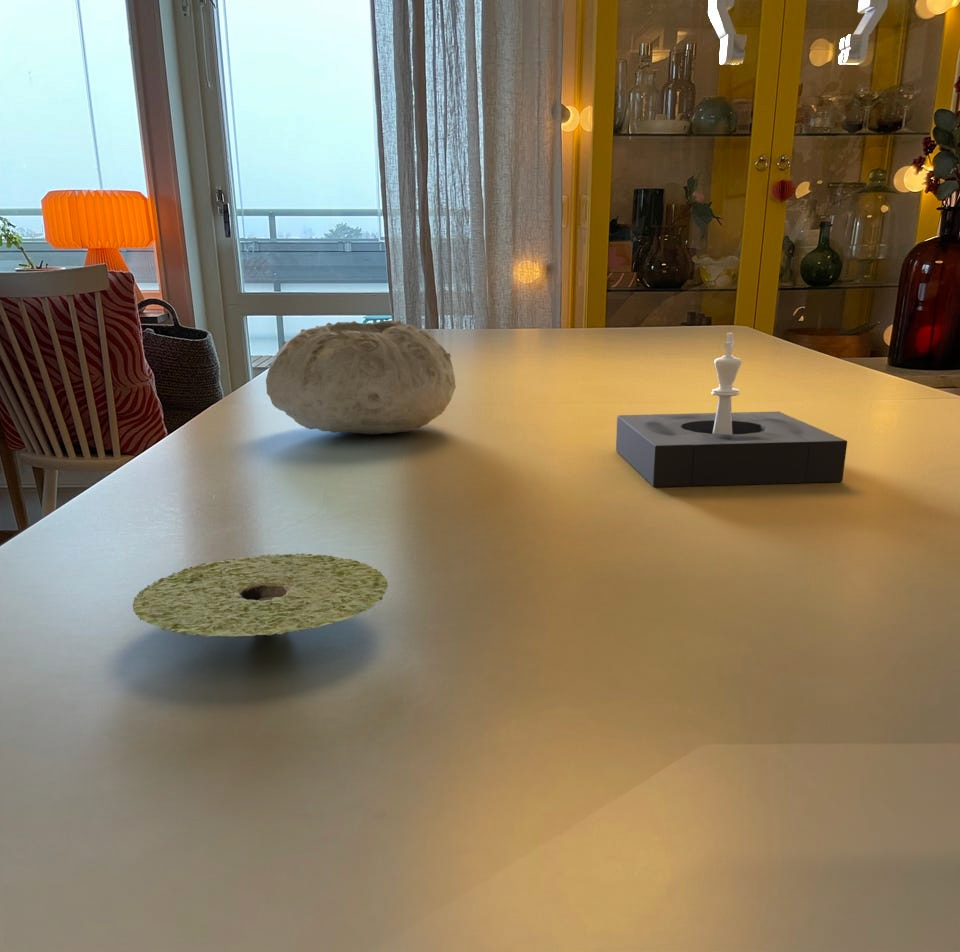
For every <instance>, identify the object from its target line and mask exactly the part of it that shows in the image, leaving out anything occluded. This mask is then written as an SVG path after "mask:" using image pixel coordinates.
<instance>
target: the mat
mask: <svg viewBox="0 0 960 952" xmlns="http://www.w3.org/2000/svg"><path fill="white" fill-rule="evenodd" d="M388 583H389V582H388V579H387V578H386V576H384V575H383V573H382V572H381V571H379V570H378V569H377V568H374V567H372V566H371V565H369V564H366V563H363V562H360V561H358V560H354V559H352V558H343V557H338V556H333V555H327V554H326V555H325V554H319V553H318V554H312V553H309V554H307V553H296V554H295V553H284V554H279V553H278V554H276V553H275V554H270V553H269V554H263V555H257V556H256V555H254V556H246V557H237V558H232V559H231V558H230V559H223V560H215V561H212V562H209V563H205V562H204V563H200V564H197V565H194V566H190V567H189V568H187V567H186V568H183V569H182V570H181V571H178V572H172V574H170V575H168V576H166V577H161V578H159V579H158V580H154V581H153V583H152V584H150V585H149V584H148V585H147V586H146V587H144V588H143V589H142V590H139V592H138V593H137V594H136V596H134V597H133V603H132V610H133V612H134V613H135V615H136V616H137V618H139V620H140V621H141V620H142V621H144V622H145V623H146V624H149V625H150V626H156V627H158V628H159V629H161V630H163V631H165V630H167V631H172V632H173V633H180V634H182V635H183V636H186V635H191V636H202V637H206V638H208V637H216V636H220V637H255V636H257V635H259V636H263V635H266V636H272V635H275V634H277V635H283V634H285V633H290V632H296V631H297V632H302V631H305V630H312V629H318V628H320V627H323V626H327V625H332V624H334V623H337V622H342V621H345V620H347V619H349V618H352V617H356V616H358V615H360V614H362V613H364V612H367V611H368V610H369V609H371V608H373V607H374V606H376V605H377V603H379V602H380V601H382V600H383V597H384V595H385V594H386V592H387V591H386V590H388V587H389V584H388Z"/></svg>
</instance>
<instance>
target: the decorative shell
mask: <svg viewBox="0 0 960 952" xmlns="http://www.w3.org/2000/svg"><path fill="white" fill-rule="evenodd" d="M451 357H452V356H451V353H450V352H447V350H446V349H445V348H444V346H442V345H441V343H439V342H438V340H436V339H435V338H434V336H432V335H430V334H429V333H428V332H426V331H424V330H421V329H419V328H418V327H415V325H414V324H413V323H411V324H408V323H403V322H402V321H401V320H396V321H395V320H380V321H378V322H373V323H372V322H366V323H363V322H362V323H361V322H360V323H359V322H357V321H355V320H353V321H350V322H349V321H337V322H335V323H334V324H333V323H331V322H327V323H326V324H325V325H320V326H319V325H316V326H315V327H310V328H307V329H305V328H302V329H301V330H300V332H299V333H297V334H295V335H294V336H292V337H291V338H289V340H287V341H286V340H284V341H282V343H281V347H280V348H279V349H278V351H277V352H276V354H275V356H274V358H273V360H272V361H271V362H270V363H269V367H268V371H267V375H266V378H265V385H266V386H265V387H266V395H267V396H268V397H269V399H270V401H271V402H270V403H271V404H272V405H273V406H274V408H275V409H278V410H279V411H282V412H284V413H285V415H287V416H288V417H289V418H291V419H292V420H293V421H294V422H295V423H297V424H298V425H299V426H301V427H303V428H305V429H307V430H308V429H309V430H319V431H321V432H329V433H333V434H334V433H346V434H364V435H380V434H381V435H383V434H396V433H408V432H411V431H412V430H414V429H415V430H416V429H420V428H421V427H424V426H427V425H428V424H429V423H431V422H432V421H433V420H434V419H437V418H438V417H439V416H440V415H442V414H443V413H444V412H445V410H446V409H447V407H448V405H449V404H450V402H451V401H452V399H453V395H454V393H455V390H456V375H455V371H454V367H453V363H452V360H451Z"/></svg>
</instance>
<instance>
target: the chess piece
mask: <svg viewBox="0 0 960 952" xmlns="http://www.w3.org/2000/svg"><path fill="white" fill-rule="evenodd" d="M734 334H735V333H734V332H727V333H726V340H725V342H724V349H725V353H724V355H722V356H721V357H717V358H716V359H714V361H713V362H714V367H715V370H716V376H717V380H718V383H719V385H718V386H717V387H716V388H713V389H712V390H711V395H712V396H716V397H718V402H717V408H716V412H715V413H716V418H715V423H714V428H713V433H712V434H732V413H733V412H732V397H735V396H739V395H740V394H741V393H740V389H738V388H734V385H733V384H734V383H735V380H736V378H737V374H738V372H739V370H740V368H741V365H742V359H741V358H739V357H735V356H734V355H733V348H734V346H735V345H734V344H735V340H734Z"/></svg>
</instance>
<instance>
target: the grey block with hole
mask: <svg viewBox="0 0 960 952" xmlns="http://www.w3.org/2000/svg"><path fill="white" fill-rule="evenodd" d="M716 413H717V412H698V413H696V412H695V413H659V414H654V413H653V414H652V413H651V414H620V415H619V414H618V415H617V416H616V436H615V437H616V438H615V439H616V440H615V451H616V452H617V453H618V455H620V456H621V457H622V458H623V459H624V460H625V461H626V462H627V463H628V464H629V465H630V466H631V467H632V468H633V469H634V470H636V472H638V474H639V475H641V477H642V478H644V479H645V480H646V481H647V482H648V484H650V485H651V486H652V487H653V488H667V487H668V488H669V487H705V486H707V487H708V486H744V485H745V486H747V485H778V484H779V485H780V484H781V485H782V484H784V485H785V484H810V483H811V484H813V483H814V484H815V483H842V482H843V478H844V471H845V464H846V457H847V455H846V454H847V448H848V440H847V439H843V438H842V437H839V436H838V435H837V436H836V435H834V434H832V433H830V432H827V431H826V430H823V429H821V428H818V427H816V426H813V425H812V424H809V423H807V422H804V421H802V420H800V419H797V418H795V417H793V416H791V415H788V414H786V413H783V412H781V411H748V412H747V411H746V412H745V411H743V412H742V411H741V412H739V411H738V412H731V413H732V434H712V433H713V428H714V423H715V418H716Z"/></svg>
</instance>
